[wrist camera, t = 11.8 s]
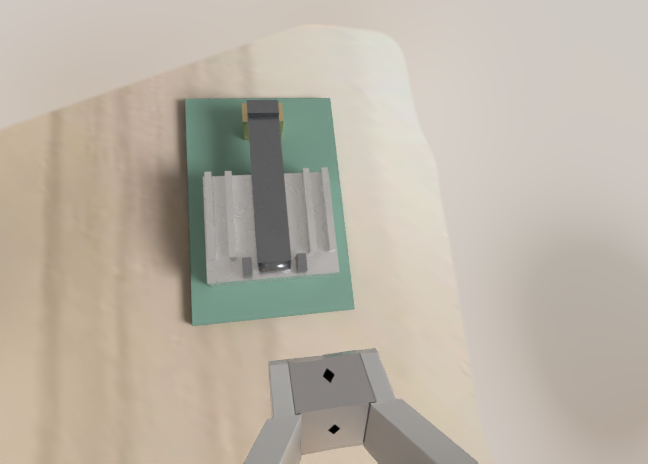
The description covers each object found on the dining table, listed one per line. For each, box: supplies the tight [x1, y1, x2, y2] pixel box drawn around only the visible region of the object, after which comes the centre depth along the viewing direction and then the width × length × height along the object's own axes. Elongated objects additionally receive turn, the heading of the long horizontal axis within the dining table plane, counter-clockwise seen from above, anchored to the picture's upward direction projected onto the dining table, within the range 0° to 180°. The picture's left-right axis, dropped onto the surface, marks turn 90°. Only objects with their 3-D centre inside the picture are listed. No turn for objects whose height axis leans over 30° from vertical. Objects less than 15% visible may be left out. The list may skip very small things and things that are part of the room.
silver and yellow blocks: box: [203, 103, 339, 287], centre depth 38 cm, size 18×12×6 cm
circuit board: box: [185, 98, 354, 326], centre depth 42 cm, size 24×16×1 cm, turn 6°
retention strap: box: [247, 100, 292, 273], centre depth 36 cm, size 16×3×2 cm, turn 6°
